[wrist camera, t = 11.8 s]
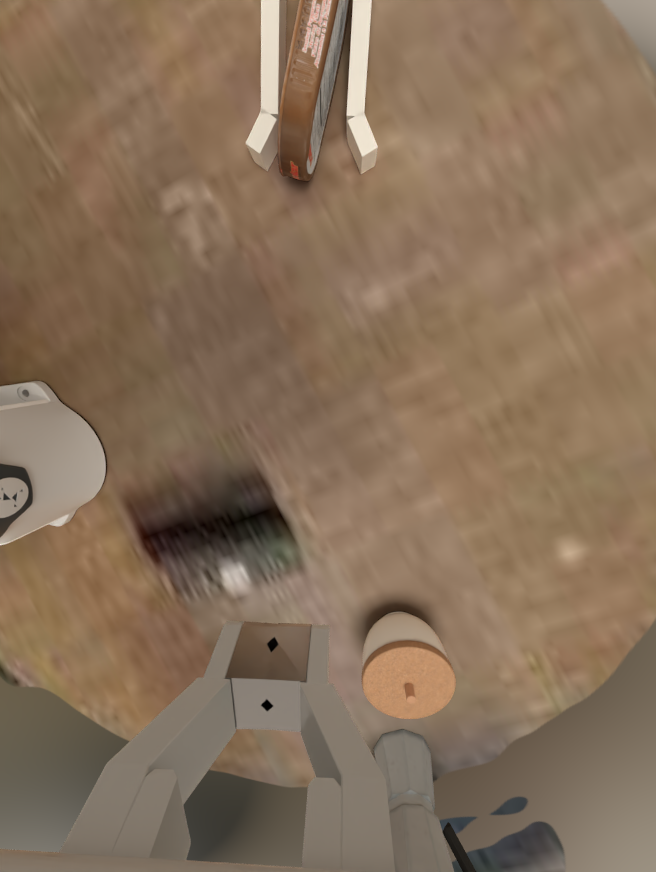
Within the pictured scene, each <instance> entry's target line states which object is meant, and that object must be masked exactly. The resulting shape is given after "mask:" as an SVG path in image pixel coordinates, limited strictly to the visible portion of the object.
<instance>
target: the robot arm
mask: <svg viewBox="0 0 656 872" xmlns="http://www.w3.org/2000/svg"><path fill="white" fill-rule="evenodd" d="M28 392H29V394H28ZM105 472H106V462H105V456H104V452H103V449H102V446H101V443H100V441H99V439H98V437H97V436H96V434H95V433H94V431H93V430H92V428H91V427H90V426H89V425H88V424H87V422H86V421H85V420H84V419H83V418H81V417H80V416H79V415H78V414H77V413H75V412H74V411H72V410H71V409H69V408H68V407H66V406H65V405H64V404H62V403H61V402H60V401H59V399H58V398H57V397H56V395H55V394H54V393H53V391H52V390H51V389H50V388H49V387H48V386H47V385H46V384H45V383H44V382H41V381H31V382H25V383H18V384H11V385H5V386H0V545H4V544H8V543H10V542H12V541H14V540H17V539H19V538H21V537H23V536H25V535H27V534H29V533H31V532H33V531H36V530H38V529H40V528H42V527H44V526H46V525H48V524H49V525H53V526H61V525H64V524H66V523H68V522H69V521H70V520H71V519H72V517H73V516H74V514H75V512H76V510H77V509H78V508H79V507H80V506H82V505H84V504H85V503H87V502H89V501H90V500H91V499H92V498H94V497H95V496H96V494H97V493H98V492H99V490H100V489H101V487H102V484H103V482H104V478H105ZM329 633H330V627H329V625H315V624H290V623H278V624H274V623H260V622H243V621H227V622H226V623H225V625H224V626H223V629H222V631H221V634H220V636H219V639H218V641H217V644H216V646H215V649H214V652H213V654H212V657H211V659H210V662H209V664H208V667H207V670H206V672H205V675H204V677H203V678H197V679H196V680H195V681H194V682H193V683H192V684H191V685H190V686H188V687H187V688H186V689H185V690H184V691H183V692H182V693H181V694H180V695H179V696H178V697H177V698H176V699H175V700H174V701H173V702H171V703H170V704H169V705H168V706H167V707H166V708H165V709H164V710H163V711H162V712H161V713H160V714H159V715H158V716H157V717H156V718H154V719H153V720H152V721H151V722H150V723H149V724H148V725H147V726H146V727H145V728H144V729H143V730H142V731H141V732H140V733H139V734H137V735H136V736H135V737H134V738H133V739H132V740H131V741H130V742H129V743H128V744H127V745H126V746H125V747H124V748H123V749H122V750H120V751H119V752H118V754H116V755H115V756H114V757H113V758H112V759H111V760H110V761H109V762H108V763H107V764H106V766H105V768H104V770H103V772H102V773H101V775H100V777H99V779H98V781H97V783H96V784H95V786H94V788H93V790H92V792H91V794H90V796H89V798H88V799H87V801H86V803H85V805H84V807H83V809H82V811H81V813H80V814H79V816H78V818H77V820H76V822H75V824H74V825H73V827H72V829H71V831H70V833H69V835H68V837H67V839H66V840H65V842H64V844H63V846H62V848H61V850H60V852H59V853H57V852H41V851H24V850H8V849H0V872H395V864H394V854H393V844H392V835H391V825H390V815H389V805H388V796H387V786H386V779H385V777H384V775H383V773H382V772H381V770H380V768H379V766H378V764H377V762H376V761H375V759H374V757H373V755H372V753H371V752H370V750H369V748H368V746H367V744H366V743H365V741H364V739H363V737H362V735H361V733H360V732H359V730H358V728H357V726H356V724H355V723H354V721H353V719H352V717H351V715H350V713H349V712H348V710H347V708H346V706H345V704H344V703H343V701H342V699H341V697H340V695H339V693H338V692H337V690H336V688H335V686H334V684H328V676H329ZM236 729H270V730H282V731H294V732H301V736H302V739H303V742H304V744H305V747H306V750H307V753H308V756H309V758H310V761H311V764H312V767H313V770H314V772H315V775H316V777H314V779H313V780H312V781H311V782H310V784H309V785H308V796H307V809H306V821H305V834H304V846H303V858H302V868H300V867H285V866H284V867H283V866H268V865H252V864H236V863H220V862H202V861H187V860H186V858H187V855H188V851H189V848H190V844H191V841H190V836H189V831H188V826H187V822H186V817H185V812H184V807H183V804H184V803H185V801H186V800H187V799H188V797H189V796H190V794H191V793H192V792H193V790H194V789H195V788H196V786H197V785H198V783H199V782H200V781H201V779H202V778H203V776H204V775H205V774H206V772H207V771H208V770H209V768H210V767H211V765H212V764H213V763H214V761H215V760H216V758H217V757H218V756H219V754H220V753H221V751H222V750H223V749H224V747H225V746H226V745H227V743H228V742H229V740H230V739H231V738H232V736H233V735H234V733H235V732H236Z"/></svg>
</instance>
